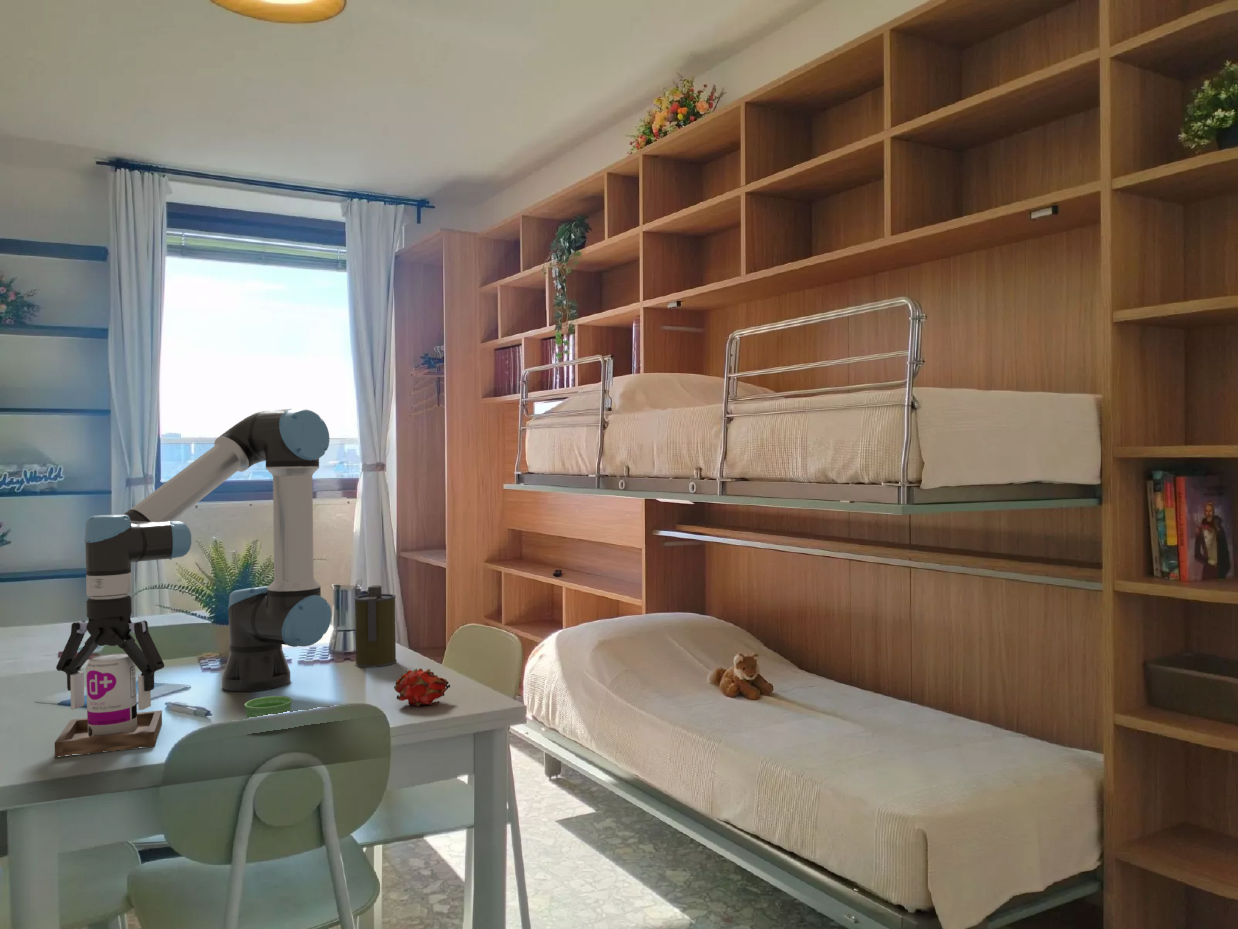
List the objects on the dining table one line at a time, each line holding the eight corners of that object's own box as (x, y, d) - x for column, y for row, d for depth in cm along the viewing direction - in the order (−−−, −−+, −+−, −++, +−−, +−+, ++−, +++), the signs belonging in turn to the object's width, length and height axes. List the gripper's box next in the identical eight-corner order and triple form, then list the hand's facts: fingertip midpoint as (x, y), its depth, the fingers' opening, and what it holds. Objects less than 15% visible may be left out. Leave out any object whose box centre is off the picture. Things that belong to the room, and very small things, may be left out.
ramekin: (256, 717, 190) (255, 696, 190) (299, 716, 190) (298, 695, 190) (236, 729, 181) (236, 707, 181) (282, 729, 181) (281, 707, 181)
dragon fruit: (389, 713, 197) (445, 716, 200) (394, 697, 190) (452, 701, 194) (393, 676, 202) (448, 680, 205) (397, 659, 196) (454, 664, 199)
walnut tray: (162, 724, 186) (161, 710, 186) (154, 746, 171) (154, 731, 171) (70, 734, 180) (70, 719, 180) (54, 758, 165) (54, 742, 165)
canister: (359, 659, 244) (357, 584, 244) (399, 658, 245) (397, 583, 245) (351, 668, 233) (350, 590, 233) (393, 667, 234) (392, 588, 234)
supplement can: (115, 742, 170) (112, 662, 170) (77, 741, 172) (75, 661, 172) (147, 730, 178) (144, 652, 178) (110, 728, 180) (108, 652, 180)
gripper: (33, 599, 172) (35, 712, 173) (159, 599, 170) (161, 713, 170) (61, 593, 180) (63, 701, 180) (182, 593, 178) (184, 703, 178)
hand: (111, 707), depth 175 cm, fingers open, 13 cm apart
